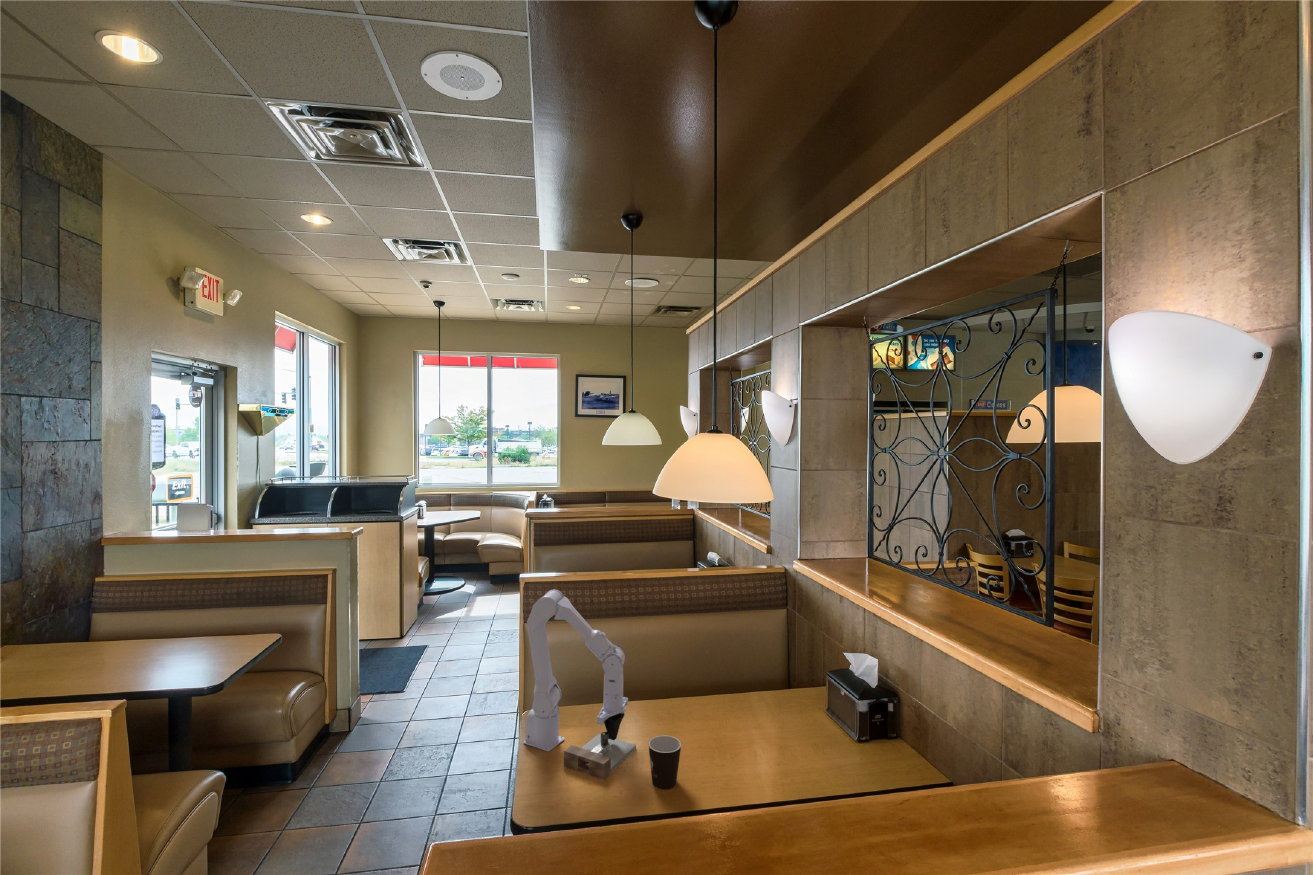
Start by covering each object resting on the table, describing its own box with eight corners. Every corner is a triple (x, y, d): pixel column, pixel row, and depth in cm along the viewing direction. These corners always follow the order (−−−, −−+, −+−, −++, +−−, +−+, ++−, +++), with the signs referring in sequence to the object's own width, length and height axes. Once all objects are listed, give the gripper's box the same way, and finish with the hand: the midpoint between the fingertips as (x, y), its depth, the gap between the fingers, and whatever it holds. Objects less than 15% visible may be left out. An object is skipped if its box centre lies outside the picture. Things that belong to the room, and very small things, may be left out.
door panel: (571, 760, 156) (571, 748, 156) (598, 737, 169) (598, 726, 169) (610, 773, 150) (610, 761, 150) (636, 748, 163) (636, 737, 163)
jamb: (563, 766, 153) (563, 750, 153) (571, 760, 156) (571, 744, 156) (603, 779, 147) (603, 763, 147) (610, 773, 150) (610, 757, 150)
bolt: (588, 758, 155) (589, 742, 155) (602, 746, 161) (603, 730, 161) (596, 760, 153) (596, 744, 154) (609, 748, 160) (610, 732, 160)
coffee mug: (677, 794, 142) (678, 754, 142) (644, 789, 143) (645, 750, 143) (684, 768, 153) (685, 731, 153) (653, 764, 155) (654, 728, 155)
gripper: (611, 704, 155) (610, 753, 155) (637, 685, 168) (636, 730, 168) (590, 698, 158) (589, 747, 158) (617, 680, 171) (616, 725, 171)
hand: (612, 738), depth 163 cm, fingers closed
